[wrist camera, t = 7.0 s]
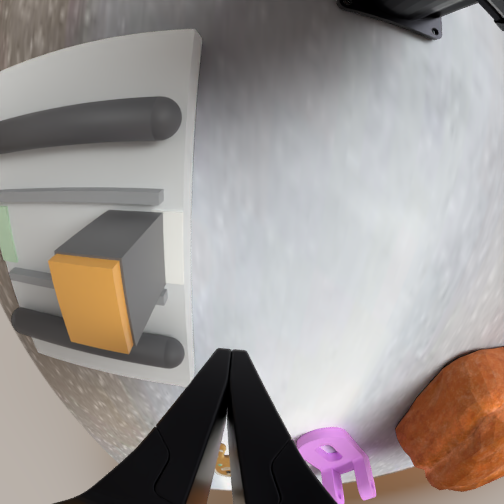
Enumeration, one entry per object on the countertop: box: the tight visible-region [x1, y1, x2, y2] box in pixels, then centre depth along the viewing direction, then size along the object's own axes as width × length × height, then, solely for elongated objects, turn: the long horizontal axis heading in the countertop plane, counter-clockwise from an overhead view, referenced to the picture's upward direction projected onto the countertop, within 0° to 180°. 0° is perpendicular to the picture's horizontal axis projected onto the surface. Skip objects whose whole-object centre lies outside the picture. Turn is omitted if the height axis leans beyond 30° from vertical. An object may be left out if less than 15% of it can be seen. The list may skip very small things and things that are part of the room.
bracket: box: [297, 427, 376, 504], centre depth 25 cm, size 13×6×7 cm, turn 31°
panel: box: [0, 29, 203, 387], centre depth 15 cm, size 14×22×4 cm, turn 175°
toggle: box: [48, 210, 166, 354], centre depth 12 cm, size 3×4×6 cm
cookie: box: [215, 443, 231, 477], centre depth 29 cm, size 8×1×10 cm
